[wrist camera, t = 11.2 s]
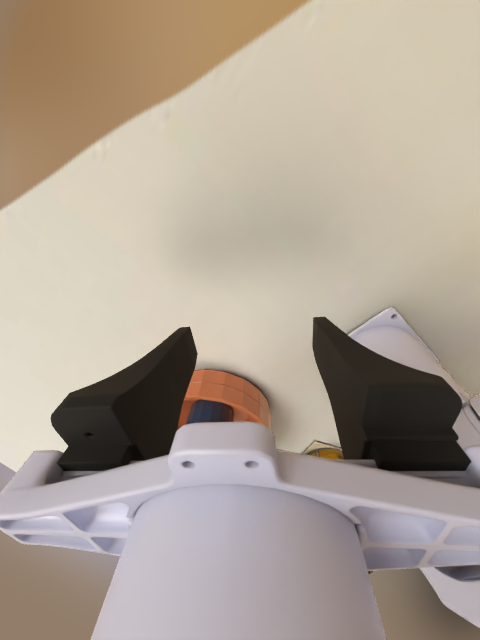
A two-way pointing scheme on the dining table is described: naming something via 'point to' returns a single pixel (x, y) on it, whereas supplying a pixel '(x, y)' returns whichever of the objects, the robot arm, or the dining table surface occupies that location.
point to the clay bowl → (227, 396)
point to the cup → (210, 412)
